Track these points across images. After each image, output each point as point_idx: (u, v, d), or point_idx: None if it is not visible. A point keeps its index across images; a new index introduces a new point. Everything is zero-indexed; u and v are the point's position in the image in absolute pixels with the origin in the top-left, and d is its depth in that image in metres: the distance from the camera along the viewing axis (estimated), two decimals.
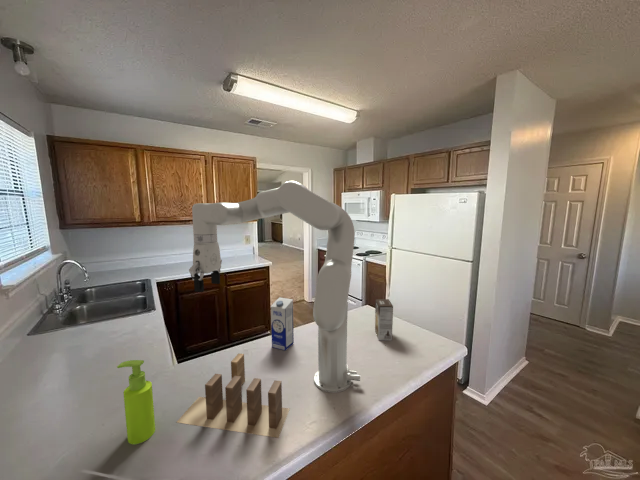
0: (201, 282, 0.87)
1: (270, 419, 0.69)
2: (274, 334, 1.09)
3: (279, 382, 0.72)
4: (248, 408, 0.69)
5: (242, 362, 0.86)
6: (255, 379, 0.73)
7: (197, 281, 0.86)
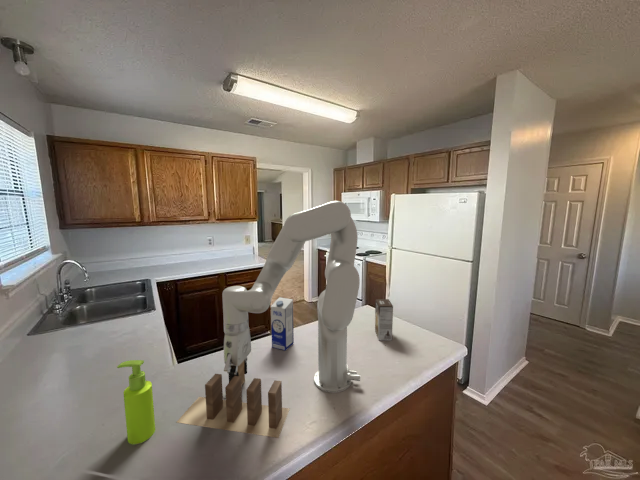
0: (236, 375, 0.82)
1: (270, 419, 0.69)
2: (274, 334, 1.09)
3: (279, 382, 0.72)
4: (248, 408, 0.69)
5: (242, 362, 0.86)
6: (255, 379, 0.73)
7: (232, 375, 0.81)
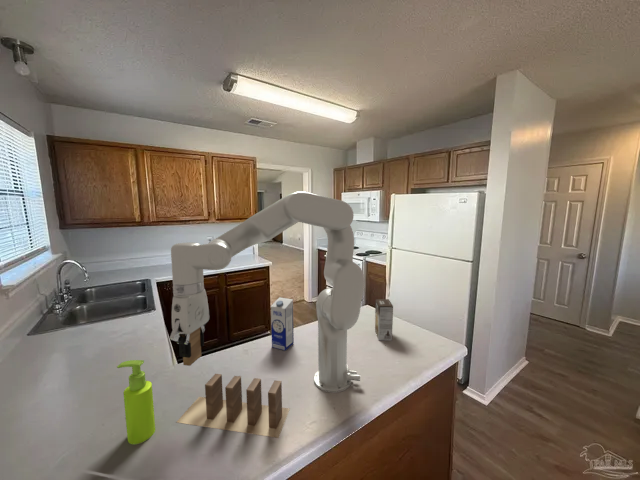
0: (188, 346, 0.70)
1: (270, 419, 0.69)
2: (274, 334, 1.09)
3: (279, 382, 0.72)
4: (248, 408, 0.69)
5: (197, 332, 0.74)
6: (255, 379, 0.73)
7: (183, 345, 0.69)
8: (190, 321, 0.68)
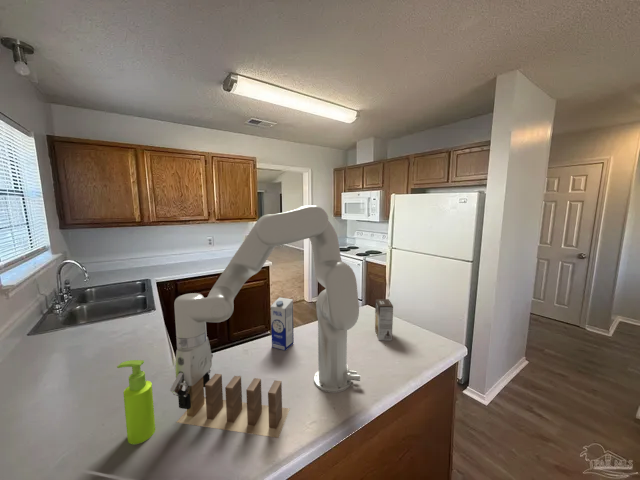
0: (187, 398, 0.70)
1: (270, 419, 0.69)
2: (274, 334, 1.09)
3: (279, 382, 0.72)
4: (248, 408, 0.69)
5: (200, 382, 0.76)
6: (255, 379, 0.73)
7: (182, 397, 0.69)
8: (193, 373, 0.70)
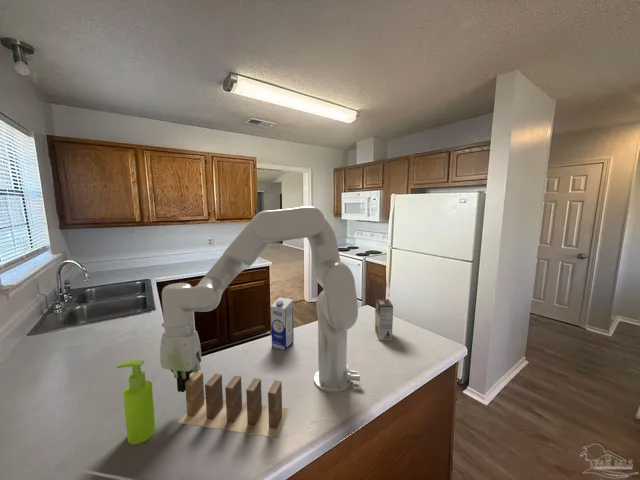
0: None
1: (270, 419, 0.69)
2: (274, 334, 1.09)
3: (279, 382, 0.72)
4: (248, 408, 0.69)
5: (200, 382, 0.76)
6: (255, 379, 0.73)
7: None
8: (163, 358, 0.72)
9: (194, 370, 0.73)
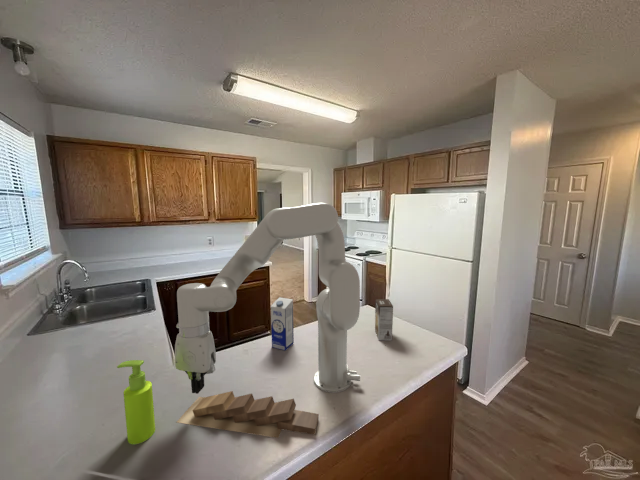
0: None
1: (286, 425, 0.68)
2: (274, 334, 1.09)
3: (317, 421, 0.71)
4: (270, 417, 0.68)
5: None
6: (293, 402, 0.72)
7: None
8: (177, 359, 0.71)
9: (209, 371, 0.72)
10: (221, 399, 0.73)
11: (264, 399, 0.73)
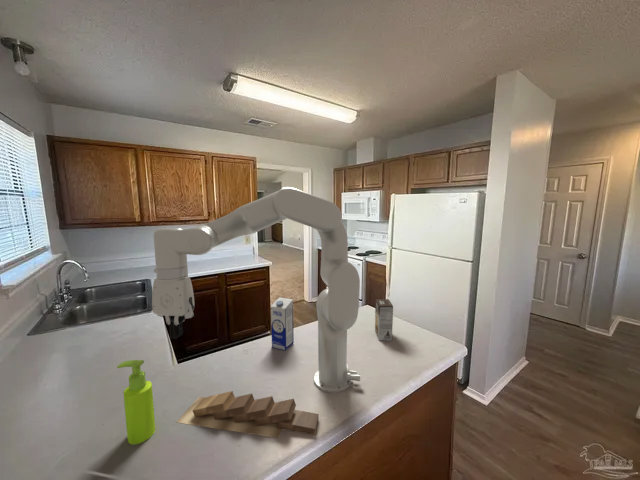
0: None
1: (286, 425, 0.68)
2: (274, 334, 1.09)
3: (317, 421, 0.71)
4: (270, 417, 0.68)
5: None
6: (293, 402, 0.72)
7: None
8: (155, 302, 0.71)
9: (187, 316, 0.72)
10: (221, 399, 0.73)
11: (264, 399, 0.73)
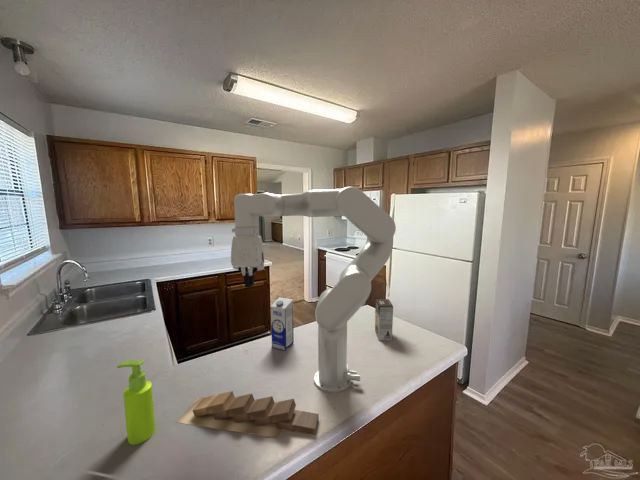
0: None
1: (286, 425, 0.68)
2: (274, 334, 1.09)
3: (317, 421, 0.71)
4: (270, 417, 0.68)
5: None
6: (293, 402, 0.72)
7: None
8: (234, 256, 0.85)
9: (259, 268, 0.86)
10: (221, 399, 0.73)
11: (264, 399, 0.73)
